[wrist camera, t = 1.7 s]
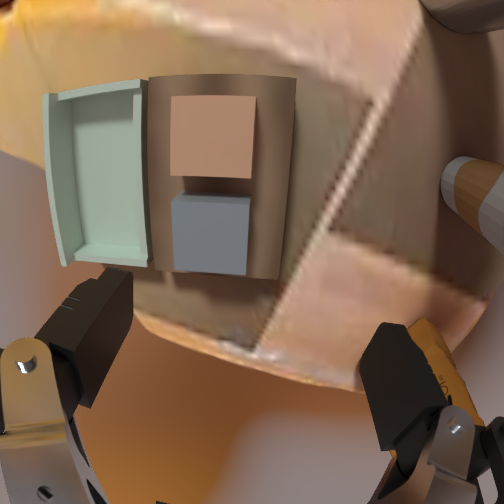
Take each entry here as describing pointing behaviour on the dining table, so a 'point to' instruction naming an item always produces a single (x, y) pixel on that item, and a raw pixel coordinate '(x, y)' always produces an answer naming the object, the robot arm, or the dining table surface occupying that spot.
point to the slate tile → (211, 232)
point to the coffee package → (442, 367)
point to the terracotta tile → (212, 135)
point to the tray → (99, 173)
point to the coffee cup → (477, 196)
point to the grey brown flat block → (259, 186)
